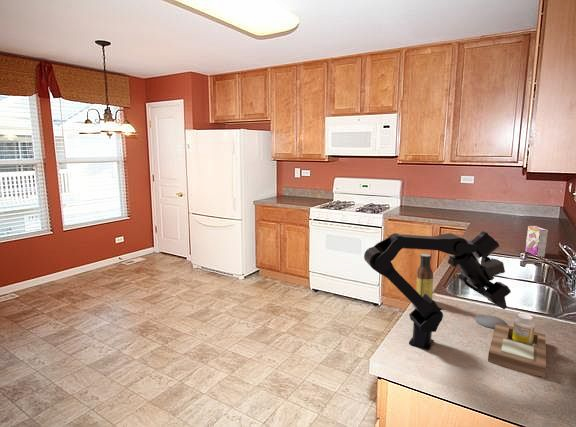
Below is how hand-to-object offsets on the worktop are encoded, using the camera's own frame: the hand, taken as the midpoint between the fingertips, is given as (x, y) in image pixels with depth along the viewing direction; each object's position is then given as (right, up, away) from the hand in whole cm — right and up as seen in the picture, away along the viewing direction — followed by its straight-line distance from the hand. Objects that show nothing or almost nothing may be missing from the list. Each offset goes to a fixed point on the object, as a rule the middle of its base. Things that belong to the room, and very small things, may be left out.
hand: (495, 301), depth 117 cm
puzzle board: (+4, -14, -4) cm, 16 cm away
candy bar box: (+78, +4, +96) cm, 124 cm away
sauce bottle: (-11, -8, +32) cm, 35 cm away
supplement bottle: (+8, -14, -1) cm, 16 cm away
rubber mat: (+6, -11, +14) cm, 19 cm away
